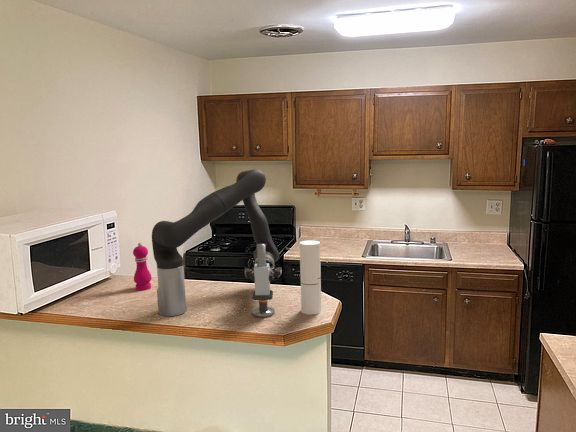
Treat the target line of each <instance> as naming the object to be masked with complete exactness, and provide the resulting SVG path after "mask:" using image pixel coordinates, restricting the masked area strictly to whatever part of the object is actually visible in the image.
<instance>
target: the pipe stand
mask: <svg viewBox="0 0 576 432" xmlns="http://www.w3.org/2000/svg"><path fill="white" fill-rule="evenodd" d="M265 247H266V243H257V244H256V249H257V266H258V267H266V250H265ZM268 301H269V300H258V307H255V308H253V309H252V311H251V314H252V316H253V317H256V318H262V319H263V318H264V319H265V318H270V317H272V316H274V315H275V313H276V311H275V308H274V307H271V306H269V305H268Z"/></svg>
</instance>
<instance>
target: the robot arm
mask: <svg viewBox="0 0 576 432" xmlns="http://www.w3.org/2000/svg"><path fill="white" fill-rule="evenodd" d="M266 180H267V179H266V175H265V173H264V172H263V171H261V170H259V169H254V168H253V169H248V170H244V171H243V170H242V171H241V172H239V173H238V174H237V176H236V182H234V183H232V184H230V185H228V186H227V185H226V186H224V187H221V188H219V189H217V190H215V191H213V192H212V193H210V194H208V195H206V196H205V197H203V198H201V200H199V201H198V202H197V204H195V206H194V208H193V209H192V211H191V212H190V213H188V214H187V215H185V216H184V217H183V218H181V219H179V220H176V221H174V222H173V221H169V220H168V221H167V220H160V221H159V222H156V223H155V224H154V226H153V227H152V231H151V244H152V251H153V252H152V254H153V258H154V261H155V263H156V273H157V275H156V276H157V283H158V287H157V288H156V293H157V294H156V295H157V309H158V315H159V316H164V317H172V316H173V317H174V316H180V315H182V314H185V313H186V312H187V301H186V300H187V299H186V298H187V297H186V286H185V285H186V284H185V268H184V258H183V255H181V254H180V253H179V251H178V248H179V247H181V246H183V244H185V243H186V242H187V241H188V240H189V239H191V238H192V237H193V236H195V234H197V232H198V233H199V231H200V230H202V229H204V228H205V227H207V226H208V225H209V224H210V223H211V224H212V223H213V222H214V221H216V220H217V219H218V218H220V217H222V216H223V215H225V214H226V213H227V212H228V211H230V210H231V209H233V208H235V207H236V206H237V205H238V204H240V203H241V202H243V206H244V208H245V210H246V213H247V216H248V219H249V223H250V228H251V232H252V236H253V240H254V242H255V243H257V244H265V245H267V246H265V250H266V263H269V281H270V282H272V281H273V280H274V278H276V279H278V278H280V276H281V275H283V274H282V273H283V272H282V271H283V270H282V269H283V268H282V266H278V267H276V268H275V263H276V262H278V260H279V258H280V253H279V250H278V248H277V246H276V244H275V243H274V241H273V238H272V236H271V232H270V228H269V223H268V220H267V217H266V215H265V214H264V212H263V211H262V209H261V207H260V206H259V204H258V201H257V197H256V194H257V193H258V192H260V191H261V190H263V188H264V187H265V185H266ZM252 257H253V259H254V264H253V267H252V268H249V267H244V276H245V278H246V279H247V280H249V279H250V281H252V282H253V283H255V276H254V266H255V264H257V248H255V250H254V251H253V256H252Z"/></svg>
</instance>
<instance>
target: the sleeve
mask: <svg viewBox="0 0 576 432" xmlns="http://www.w3.org/2000/svg"><path fill="white" fill-rule="evenodd" d="M254 264H255V263H254ZM253 268H254V276H255V282H254V291H255V295H270V290H271V281H269V263H266V267H258V266H257V264H255V266H254V265H253Z"/></svg>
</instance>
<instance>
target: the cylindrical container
mask: <svg viewBox="0 0 576 432" xmlns="http://www.w3.org/2000/svg"><path fill="white" fill-rule="evenodd" d="M299 267H300V268H299V271H300V310H301V311H300V312H301V313H302V314H303V315H308V314H309V316H310V314H311V316H312V314H314V315H317V314H318V315H319V314H320V313H321V312H322V286H321V285H322V281H321V280H322V279H321V278H322V277H321V274H322V273H321V270H322V269H321V268H322V267H321V241H318V240H309V239H308V240H301V241H300V242H299Z"/></svg>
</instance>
